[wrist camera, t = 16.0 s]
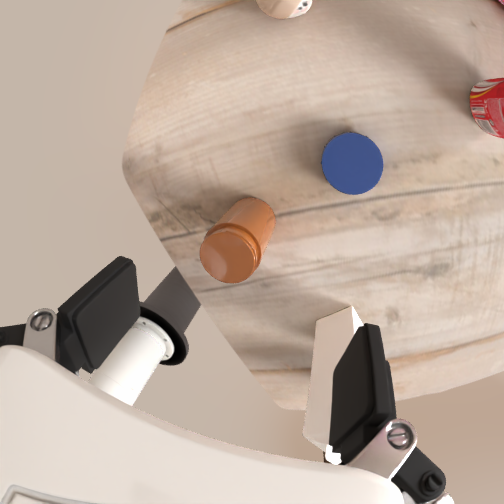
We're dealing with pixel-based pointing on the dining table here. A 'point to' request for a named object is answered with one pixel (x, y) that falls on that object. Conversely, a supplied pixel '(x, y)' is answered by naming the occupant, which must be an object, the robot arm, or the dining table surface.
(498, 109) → the soda can
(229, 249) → the jar
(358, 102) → the dining table surface
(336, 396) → the robot arm
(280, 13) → the garlic bulb
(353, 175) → the jar lid
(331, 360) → the milk
